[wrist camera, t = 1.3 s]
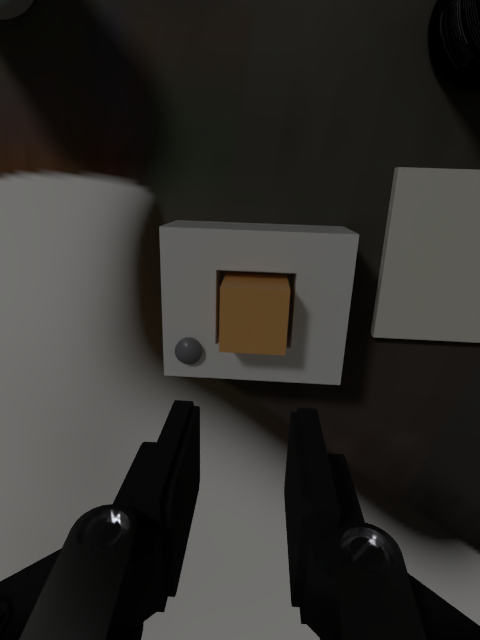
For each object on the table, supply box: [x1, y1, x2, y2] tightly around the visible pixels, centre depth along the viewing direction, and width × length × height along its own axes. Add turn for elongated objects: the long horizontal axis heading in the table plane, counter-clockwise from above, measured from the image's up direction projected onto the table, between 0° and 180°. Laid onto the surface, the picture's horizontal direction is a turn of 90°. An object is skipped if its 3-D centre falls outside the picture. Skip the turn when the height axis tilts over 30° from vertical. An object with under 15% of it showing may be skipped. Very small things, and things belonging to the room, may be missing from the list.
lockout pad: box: [370, 167, 480, 343], centre depth 28 cm, size 12×12×1 cm
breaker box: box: [159, 220, 359, 385], centre depth 27 cm, size 12×10×5 cm
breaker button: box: [219, 272, 290, 355], centre depth 25 cm, size 4×4×4 cm
